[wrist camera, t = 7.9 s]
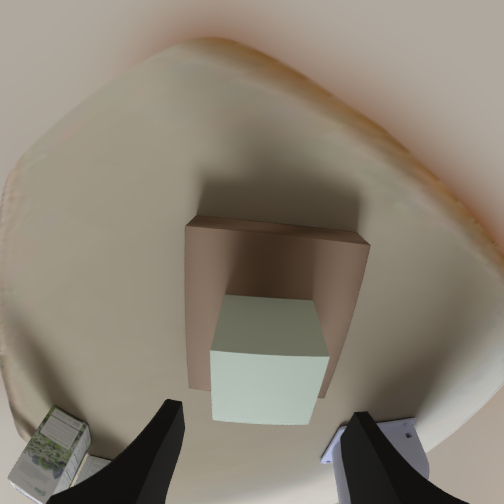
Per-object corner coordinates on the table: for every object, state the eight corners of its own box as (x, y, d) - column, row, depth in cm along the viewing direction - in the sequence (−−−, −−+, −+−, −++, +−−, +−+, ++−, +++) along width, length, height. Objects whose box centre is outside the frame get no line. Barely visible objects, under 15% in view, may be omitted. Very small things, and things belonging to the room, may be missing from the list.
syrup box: (59, 423, 27) (20, 493, 14) (52, 402, 25) (5, 479, 12) (92, 441, 28) (58, 517, 14) (88, 422, 26) (47, 508, 12)
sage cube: (312, 300, 16) (329, 356, 11) (299, 365, 17) (307, 424, 13) (224, 294, 16) (209, 350, 11) (223, 360, 17) (212, 419, 13)
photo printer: (98, 465, 31) (77, 518, 20) (84, 452, 30) (59, 507, 18) (148, 476, 30) (130, 538, 18) (135, 463, 29) (113, 529, 17)
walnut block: (354, 230, 17) (370, 245, 15) (318, 372, 21) (324, 398, 19) (197, 214, 17) (185, 225, 15) (196, 362, 21) (188, 388, 19)
